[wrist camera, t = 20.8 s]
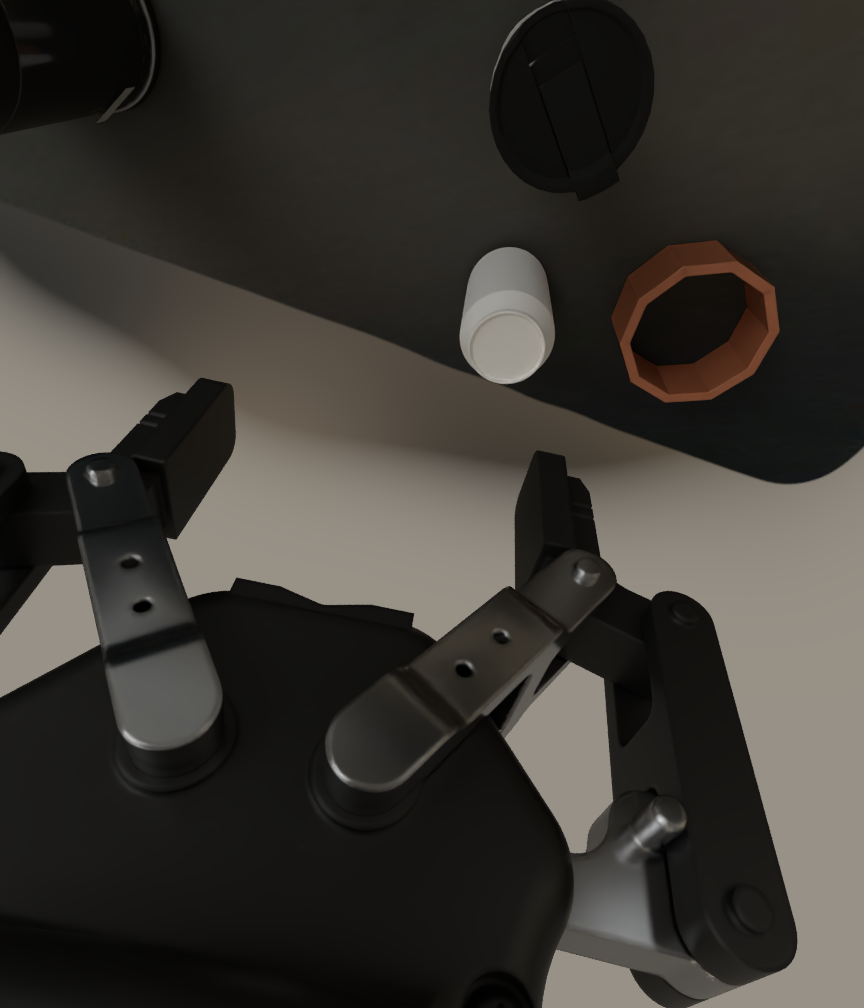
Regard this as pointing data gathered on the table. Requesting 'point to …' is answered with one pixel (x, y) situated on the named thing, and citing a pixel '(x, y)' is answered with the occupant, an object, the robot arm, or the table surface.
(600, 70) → the travel mug
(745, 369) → the holder
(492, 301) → the beverage can
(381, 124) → the table surface
